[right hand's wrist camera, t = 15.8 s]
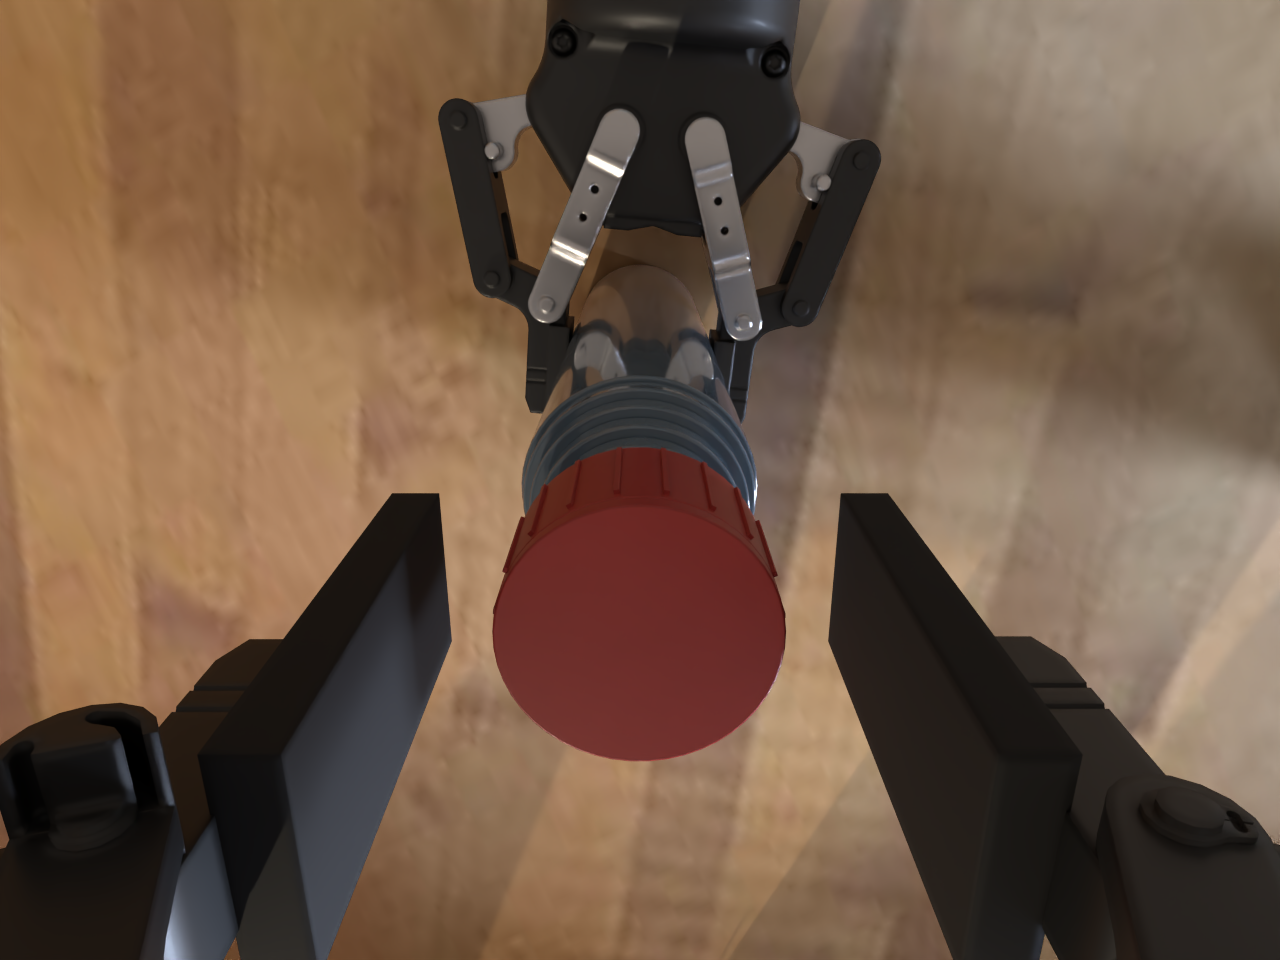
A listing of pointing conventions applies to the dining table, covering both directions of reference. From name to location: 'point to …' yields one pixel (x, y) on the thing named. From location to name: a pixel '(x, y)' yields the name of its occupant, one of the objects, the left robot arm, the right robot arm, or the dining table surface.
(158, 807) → the right robot arm
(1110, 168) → the dining table surface
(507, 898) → the dining table surface
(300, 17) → the dining table surface
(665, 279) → the bottle
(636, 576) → the cap
